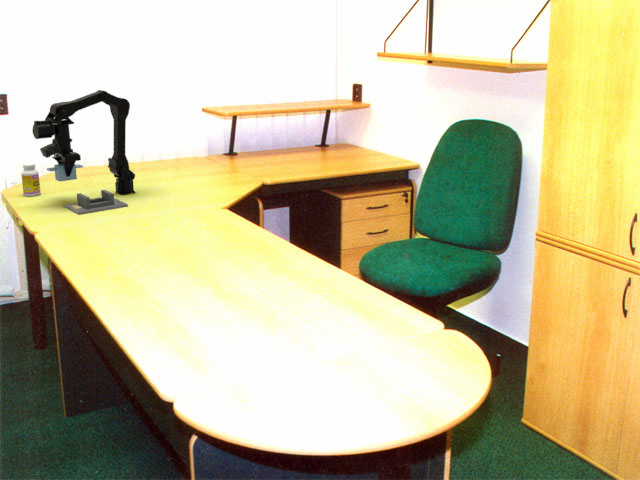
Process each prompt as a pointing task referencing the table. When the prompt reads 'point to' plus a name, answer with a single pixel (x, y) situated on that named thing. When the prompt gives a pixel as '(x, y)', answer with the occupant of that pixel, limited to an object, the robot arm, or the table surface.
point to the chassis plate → (95, 203)
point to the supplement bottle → (30, 180)
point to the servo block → (61, 174)
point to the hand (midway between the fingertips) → (65, 175)
